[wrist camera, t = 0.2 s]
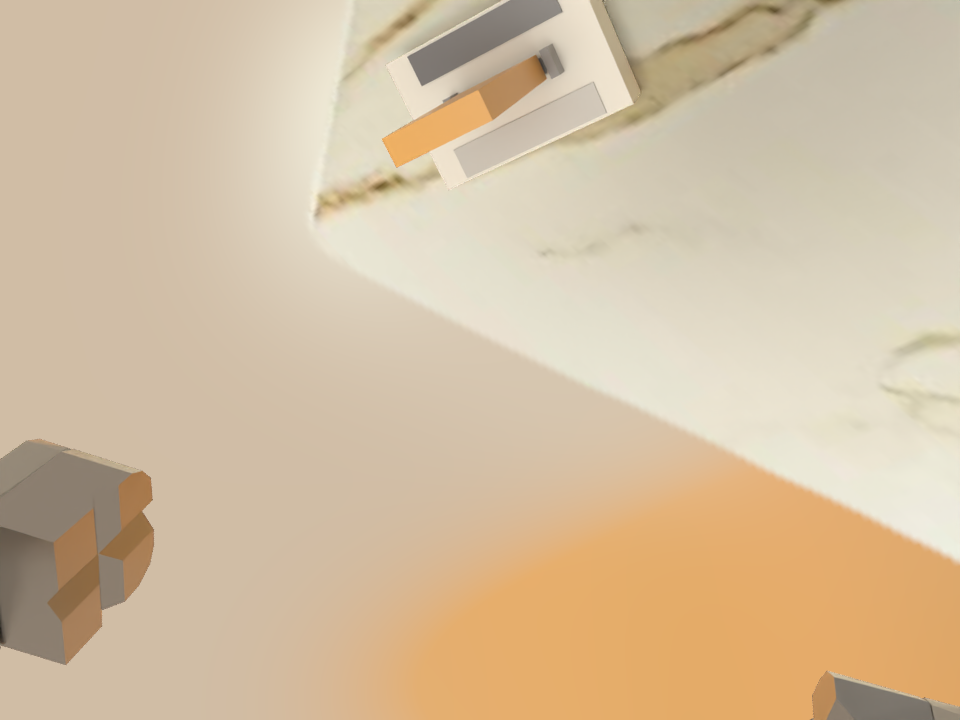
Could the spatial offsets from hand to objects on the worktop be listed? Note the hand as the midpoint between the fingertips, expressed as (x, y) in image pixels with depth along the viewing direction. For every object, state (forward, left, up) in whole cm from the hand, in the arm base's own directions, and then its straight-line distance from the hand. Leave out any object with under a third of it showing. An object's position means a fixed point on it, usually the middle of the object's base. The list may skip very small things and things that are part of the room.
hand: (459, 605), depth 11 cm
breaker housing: (+3, -10, -47) cm, 48 cm away
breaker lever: (+3, -10, -43) cm, 44 cm away
